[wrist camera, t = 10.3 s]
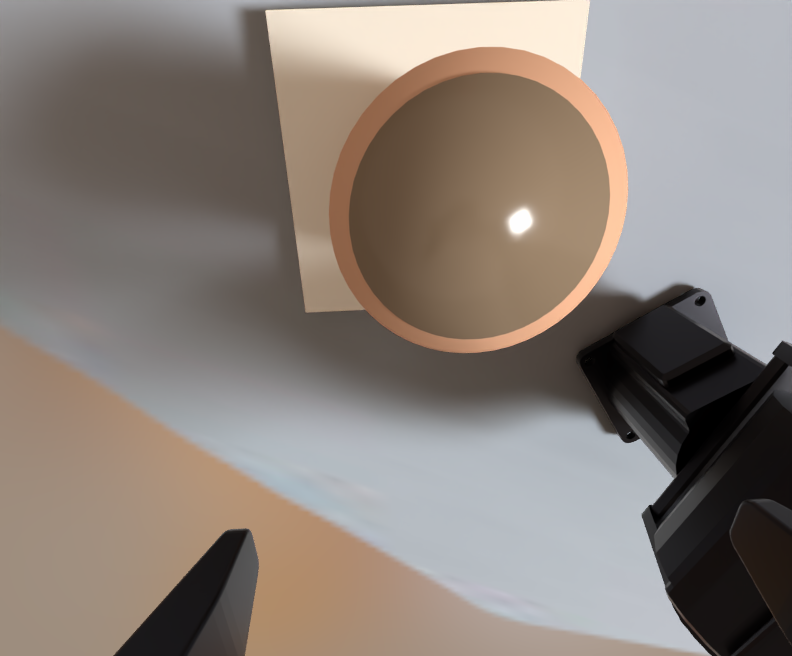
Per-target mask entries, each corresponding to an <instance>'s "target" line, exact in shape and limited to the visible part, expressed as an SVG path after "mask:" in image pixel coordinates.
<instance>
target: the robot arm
mask: <svg viewBox="0 0 792 656" xmlns="http://www.w3.org/2000/svg"><path fill="white" fill-rule="evenodd" d="M698 297H700V299H699V300H698V301H697V302H696V303H695V300H696V299H697V298H698ZM772 354H773V355H775V356H774V357H773V358H772V359H771V361H770V362H769V363H768V364H767V365H766V364H765V363H763V362H762V361H760V360H758V359H757V358H755V357H753V356H752V355H750V354H748V353H747V352H745V351H743V350H742V349H740V348H738V347H737V346H735V345H734V344H732V343H730V342H729V341H728V339H727V336H726V334H725V331H724V329H723V326H722V323H721V321H720V318H719V315H718V313H717V310H716V307H715V305H714V302H713V299H712V297H711V295H710V293H709V292H707V291H705V290H703V289H700V288H695V289H692V290H690V291H688V292H686V293H685V294H683V295H681V296H679V297H677V298H676V299H674V300H672V301H670V302H668V303H667V304H665V305H662V306H660V307H659V308H657V309H655V310H653V311H651V312H650V313H648V314H646V315H644V316H642V317H641V318H639V319H637V320H635V321H633V322H632V323H630V324H628V325H626V326H624V327H623V328H621V329H619V330H617V331H616V332H614V333H613V334H611V335H609V336H607V337H605V338H604V339H602V340H600V341H598V342H596V343H595V344H593V345H591V346H589V347H587V348H586V349H584V350H582V351H581V352H580V353H579V354H578V355H577V359H576V360H577V363H578V365H579V367H580V369H581V370H582V372H583V374H584V376H585V377H586V379H587V381H588V383H589V385H590V386H591V388H592V390H593V392H594V393H595V395H596V397H597V399H598V400H599V402H600V404H601V406H602V407H603V409H604V411H605V413H606V415H607V416H608V418H609V420H610V422H611V423H612V425H613V427H614V429H615V430H616V432H617V434H618V436H619V437H620V438H621V439H622V441H623V442H626V443H631V442H634V441H636V440H638V439H641V440H642V441H643V442H644V444H645V445H646V446H647V447H648V448H649V449H650V451H651V452H652V453H653V454H654V455H655V457H656V458H657V459H658V460H659V461H660V462H661V464H662V465H663V466H664V467H665V468H666V469H667V471H668V472H669V473H670V474H671V475H672V477H673V478H674V480H673V481H672V482H671V483H670V485H669V486H668V487H667V488H666V490H665V491H664V492H663V493H662V494H661V496H660V497H659V498H658V499H657V501H656V502H655V503H654V504H653V505H649V506H648V507H647V508H646V510H645V511H644V512H643V513H642V518H643V521H644V524H645V527H646V530H647V533H648V536H649V539H650V542H651V545H652V548H653V551H654V554H655V557H656V560H657V563H658V566H659V569H660V572H661V575H662V578H663V581H664V584H665V590H666V593H667V595H668V598H669V600H670V601H671V603H672V605H673V607H674V610H675V611H676V613H677V614H678V616H679V618H680V620H681V622H682V623H683V624H684V626H685V627H686V628H687V629H688V630H689V631H690V633H691V634H692V635H693V637H694V638H695V639H696V640H697V641H698V642H699V643H700V644H701V645H702V646H703V647H704V648H705V650H706V651H707V652H708V653H709V654H710V655H712V656H792V344H791V343H788V342H785V341H782V342H781V343H780V344H779V345H778V347H777V348H776V349H775V350H774V352H773V353H772ZM589 357H592V358H591V360H590V361H588V362H585V360H586V359H587V358H589ZM629 432H630V433H629ZM627 433H629V434H627ZM258 569H259V562H258V556H257V552H256V548H255V544H254V540H253V536H252V533H251V531H250V530H249V529H231V530H227V531H225V532H224V533H223V534H222V535H221V536H220V537H219V538H218V540H217V541H216V542H215V543H214V544H213V545H212V546H211V547H210V548H209V550H208V551H207V552H206V553H205V554H204V555H203V556H202V557H201V558H200V560H199V561H198V562H197V563H196V564H195V565H194V566H193V567H192V569H191V570H190V571H189V572H188V573H187V574H186V575H185V576H184V577H183V579H182V580H181V581H180V582H179V583H178V584H177V586H175V588H174V589H173V590H172V591H171V592H170V593H169V594H168V596H166V598H165V599H164V600H163V601H162V602H161V603H160V604H159V605H158V607H157V608H156V609H155V610H154V611H153V612H152V613H151V614H150V615H149V617H148V618H147V619H146V620H145V621H144V622H143V623H142V624H141V626H140V627H139V628H138V629H137V630H136V631H135V632H134V633H133V635H132V636H131V637H130V638H129V639H128V640H127V641H126V642H125V644H124V645H123V646H122V647H121V648H120V649H119V650H118V651H117V652H116V653H115V655H114V656H245V651H246V644H247V639H248V632H249V626H250V620H251V614H252V608H253V601H254V595H255V589H256V583H257V577H258Z"/></svg>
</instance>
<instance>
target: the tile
mask: <svg viewBox="0 0 792 656" xmlns="http://www.w3.org/2000/svg"><path fill="white" fill-rule="evenodd" d="M589 5H590V0H560V1H529V2H498V3H468V4H437V5H406V6H376V7H345V8H314V9H283V10H265V11H266V19H267V26H268V34H269V41H270V49H271V56H272V64H273V71H274V79H275V86H276V94H277V101H278V109H279V116H280V124H281V131H282V139H283V146H284V154H285V161H286V169H287V176H288V184H289V191H290V199H291V206H292V214H293V221H294V229H295V236H296V244H297V252H298V259H299V267H300V274H301V282H302V289H303V297H304V304H305V312H306V313H307V312H329V311H350V310H365V309H364V307H363V306H362V305H361V304H360V303H359V302H358V300H357V299H356V297H355V296H354V294H353V293H352V291H351V290H350V289H349V287H348V285H347V283H346V281H345V279H344V277H343V275H342V273H341V271H340V269H339V266H338V263H337V260H336V257H335V254H334V250H333V245H332V240H331V235H330V224H329V202H330V191H331V186H332V180H333V175H334V171H335V168H336V165H337V162H338V159H339V156H340V153H341V151H342V148H343V146H344V144H345V142H346V140H347V138H348V136H349V134H350V132H351V130H352V129H353V127H354V126H355V124H356V123H357V121H358V120H359V118H360V116H361V115H362V113H363V112H364V111H365V110H366V109H367V108H368V106H369V105H370V104H371V103H372V102H373V101H374V99H375V98H376V97H377V96H378V95H379V94H380V93H381V92H382V91H384V90H385V89H386V88H387V87H388V86H389V85H390V84H391V83H393V82H394V81H395V80H396V79H398V78H399V77H401V76H402V75H404V74H405V73H407V72H408V71H410V70H411V69H413V68H414V67H416V66H418V65H420V64H422V63H425V62H427V61H429V60H431V59H433V58H435V57H438V56H441V55H444V54H447V53H451V52H454V51H457V50H463V49H470V48H476V47H506V48H513V49H519V50H525V51H528V52H531V53H534V54H537V55H540V56H543V57H546V58H548V59H550V60H552V61H554V62H555V63H557V64H559V65H561V66H563V67H565V68H566V69H568V70H569V71H570V72H572V73H573V74H574V75H576V76H577V77H578V78H580V76H581V68H582V60H583V52H584V44H585V36H586V28H587V20H588V12H589Z"/></svg>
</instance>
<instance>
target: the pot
mask: <svg viewBox="0 0 792 656" xmlns="http://www.w3.org/2000/svg"><path fill="white" fill-rule="evenodd" d="M627 197H628V177H627V166H626V160H625V155H624V149H623V146H622V143H621V140H620V137H619V134H618V131H617V129H616V127H615V125H614V123H613V121H612V119H611V117H610V115H609V113H608V111H607V110H606V108H605V107H604V106H603V104H602V103H601V101H600V100H599V98H598V97H597V96H596V94H595V93H594V92H593V91H592V90H591V89H590V88H589V87H588V86H587V85H586V84H585V83H584V82H583V81H582V80H581V79H580V78H578V77H577V76H576V75H574V74H573V73H572V72H570V71H569V70H568V69H566V68H565V67H563V66H561V65H559V64H557V63H555V62H554V61H552V60H550V59H548V58H546V57H543V56H540V55H537V54H534V53H531V52H528V51H525V50H519V49H513V48H506V47H476V48H470V49H463V50H457V51H454V52H451V53H447V54H444V55H441V56H438V57H435V58H433V59H431V60H429V61H427V62H425V63H422V64H420V65H418V66H416V67H414V68H413V69H411V70H410V71H408V72H407V73H405V74H404V75H402V76H401V77H399V78H398V79H396V80H395V81H394V82H393V83H391V84H390V85H389V86H388V87H387V88H386V89H385V90H384V91H382V92H381V93H380V94H379V95H378V96H377V97H376V98H375V99H374V101H373V102H372V103H371V104H370V105H369V106H368V108H367V109H366V110H365V111H364V112H363V113H362V115H361V116H360V118H359V120H358V121H357V123H356V124H355V126H354V127H353V129H352V130H351V132H350V134H349V136H348V138H347V140H346V142H345V144H344V146H343V148H342V151H341V153H340V156H339V159H338V162H337V165H336V168H335V171H334V175H333V180H332V186H331V191H330V202H329V224H330V235H331V240H332V245H333V250H334V254H335V257H336V260H337V263H338V266H339V269H340V271H341V273H342V275H343V277H344V279H345V281H346V283H347V285H348V287H349V289H350V290H351V291H352V293H353V294H354V296H355V297H356V299H357V300H358V302H359V303H360V304H361V305H362V306H363V307H364V309H365V310H366V311H367V312H368V313H369V314H370V315H371V316H372V317H373V318H374V319H376V320H377V321H378V322H379V323H380V324H381V325H382V326H384V327H385V328H387V329H388V330H390V331H391V332H393V333H394V334H396V335H398V336H400V337H402V338H404V339H406V340H408V341H410V342H412V343H415V344H418V345H420V346H423V347H426V348H430V349H435V350H439V351H444V352H454V353H479V352H486V351H493V350H498V349H501V348H505V347H509V346H512V345H515V344H518V343H520V342H523V341H526V340H528V339H530V338H532V337H534V336H536V335H538V334H540V333H542V332H544V331H545V330H547V329H548V328H550V327H551V326H553V325H554V324H556V323H558V322H559V321H560V320H561V319H563V318H564V317H565V316H566V315H567V314H569V313H570V312H571V311H572V310H573V309H574V308H575V307H576V306H577V305H578V304H579V303H580V302H581V301H582V300H583V299H584V298H585V297H586V296H587V295H588V293H589V292H590V291H591V290H592V288H593V287H594V286H595V284H596V283H597V282H598V280H599V279H600V277H601V275H602V274H603V272H604V271H605V269H606V267H607V266H608V264H609V262H610V259H611V257H612V255H613V253H614V251H615V249H616V246H617V243H618V240H619V238H620V235H621V232H622V228H623V224H624V219H625V214H626V208H627Z"/></svg>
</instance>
